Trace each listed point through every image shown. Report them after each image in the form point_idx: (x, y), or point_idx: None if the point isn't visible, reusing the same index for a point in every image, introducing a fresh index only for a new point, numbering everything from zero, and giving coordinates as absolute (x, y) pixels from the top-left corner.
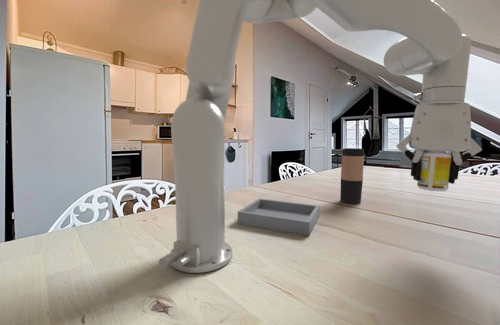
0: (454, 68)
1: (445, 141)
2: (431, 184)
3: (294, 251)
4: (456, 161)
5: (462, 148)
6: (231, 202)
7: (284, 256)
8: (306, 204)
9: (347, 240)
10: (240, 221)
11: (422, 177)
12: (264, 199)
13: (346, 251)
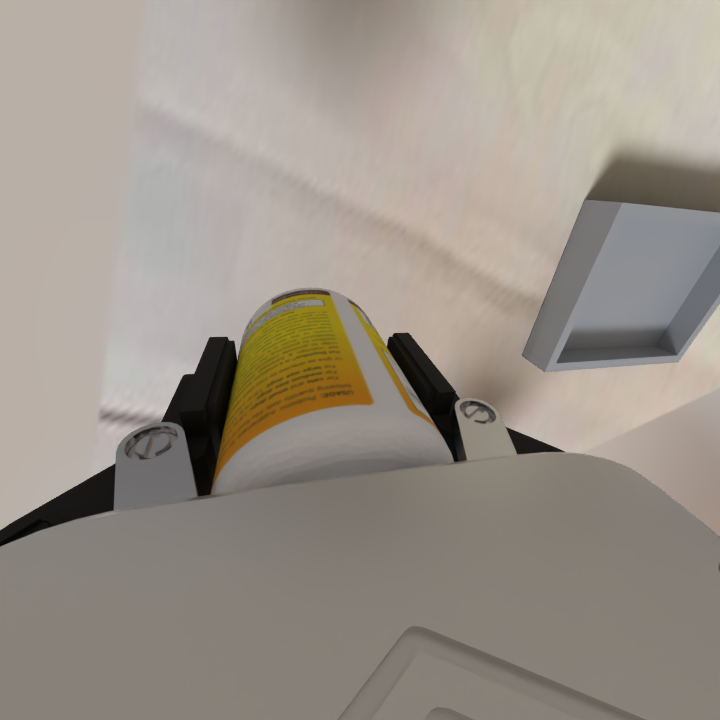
0: None
1: (327, 647)
2: (335, 300)
3: (655, 58)
4: (171, 451)
5: (27, 558)
6: (699, 360)
7: (693, 3)
8: (575, 366)
9: (494, 210)
10: None
11: (382, 340)
12: (668, 359)
13: (518, 119)
